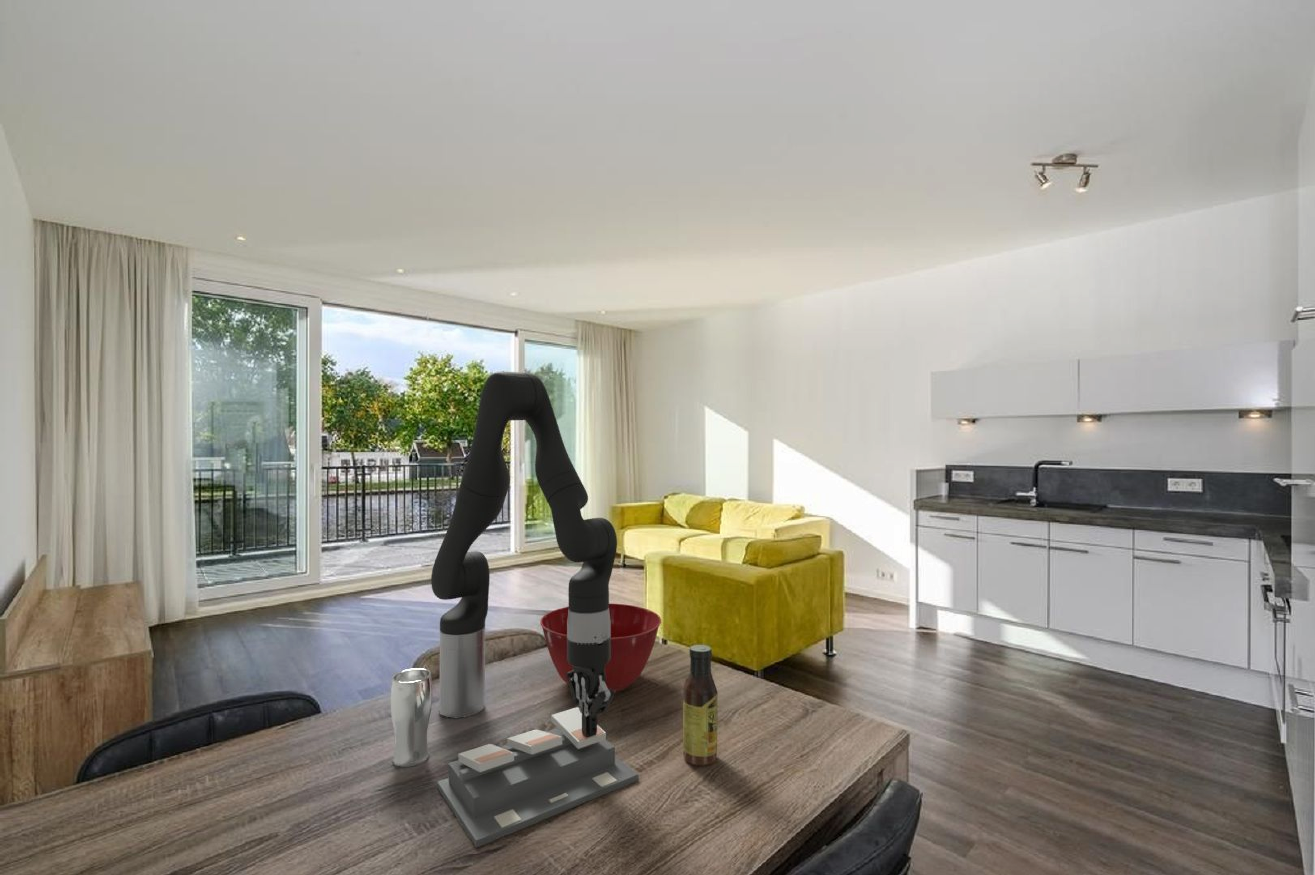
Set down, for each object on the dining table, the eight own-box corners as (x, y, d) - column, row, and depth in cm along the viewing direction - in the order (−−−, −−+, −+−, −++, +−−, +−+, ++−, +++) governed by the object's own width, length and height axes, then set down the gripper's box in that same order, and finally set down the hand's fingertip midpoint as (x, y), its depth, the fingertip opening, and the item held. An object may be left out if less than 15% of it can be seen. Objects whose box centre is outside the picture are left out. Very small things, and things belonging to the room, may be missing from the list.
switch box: (437, 787, 98) (437, 756, 98) (584, 737, 115) (584, 710, 115) (476, 848, 84) (476, 811, 84) (638, 780, 101) (638, 749, 101)
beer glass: (440, 753, 109) (440, 671, 109) (409, 772, 103) (410, 685, 103) (412, 745, 112) (412, 665, 112) (381, 763, 105) (381, 678, 106)
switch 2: (507, 746, 103) (506, 737, 103) (536, 736, 106) (536, 728, 107) (531, 754, 95) (530, 746, 96) (562, 744, 99) (561, 736, 99)
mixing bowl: (611, 652, 161) (611, 595, 161) (685, 685, 140) (686, 619, 140) (517, 681, 142) (517, 616, 142) (587, 723, 121) (588, 647, 121)
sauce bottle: (715, 770, 104) (715, 656, 104) (680, 766, 105) (680, 653, 105) (719, 750, 110) (719, 643, 110) (685, 747, 112) (686, 641, 112)
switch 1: (458, 761, 98) (458, 753, 98) (490, 751, 101) (490, 743, 102) (480, 772, 90) (479, 763, 91) (514, 760, 94) (513, 751, 94)
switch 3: (551, 721, 109) (551, 714, 108) (577, 713, 112) (577, 706, 112) (578, 749, 101) (578, 741, 100) (605, 739, 104) (606, 732, 104)
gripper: (551, 629, 106) (552, 727, 106) (589, 649, 96) (590, 757, 95) (588, 621, 111) (588, 715, 110) (628, 639, 100) (628, 743, 100)
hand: (589, 734), depth 103 cm, fingers closed
